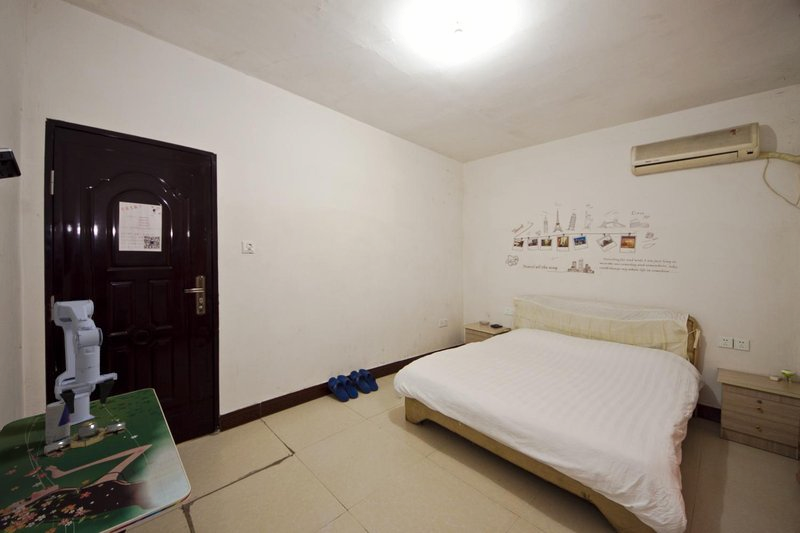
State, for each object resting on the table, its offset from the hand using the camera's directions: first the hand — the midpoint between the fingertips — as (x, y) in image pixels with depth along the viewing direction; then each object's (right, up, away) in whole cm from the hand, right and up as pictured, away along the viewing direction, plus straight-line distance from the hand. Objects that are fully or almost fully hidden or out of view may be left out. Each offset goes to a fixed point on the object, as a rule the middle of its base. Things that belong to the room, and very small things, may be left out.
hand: (87, 408), depth 102 cm
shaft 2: (+5, -10, +4) cm, 12 cm away
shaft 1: (-3, -10, -6) cm, 13 cm away
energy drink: (-9, -11, -1) cm, 14 cm away
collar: (0, -10, 0) cm, 10 cm away
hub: (0, -10, 0) cm, 10 cm away
